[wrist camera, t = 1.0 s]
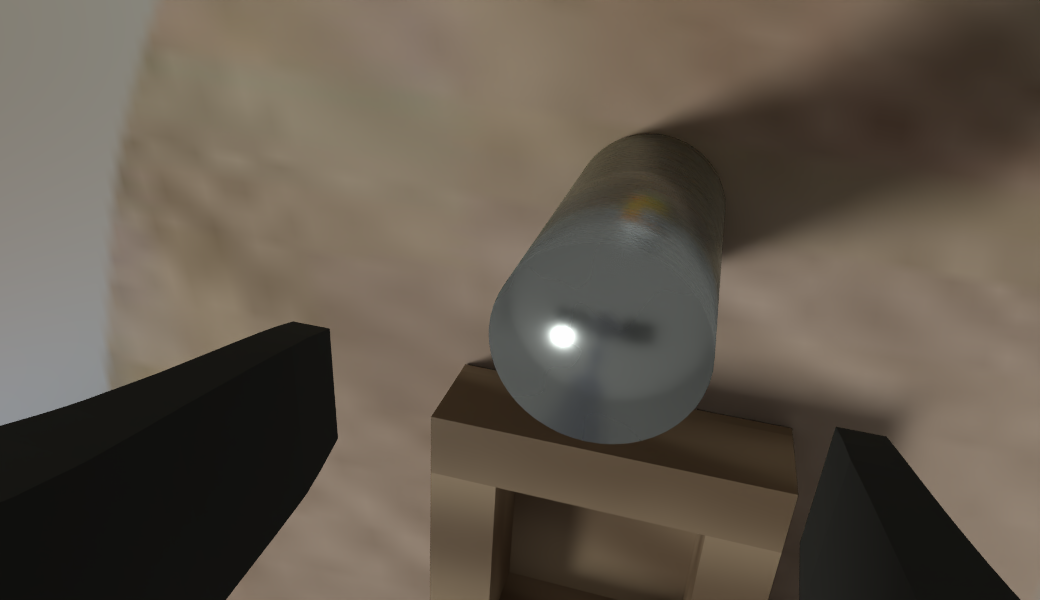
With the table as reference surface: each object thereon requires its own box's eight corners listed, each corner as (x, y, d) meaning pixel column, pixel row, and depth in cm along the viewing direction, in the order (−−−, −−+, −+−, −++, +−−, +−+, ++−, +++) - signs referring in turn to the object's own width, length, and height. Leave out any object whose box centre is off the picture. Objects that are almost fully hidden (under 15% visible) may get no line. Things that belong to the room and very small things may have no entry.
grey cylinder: (710, 287, 21) (693, 463, 14) (568, 264, 21) (484, 419, 15) (738, 144, 19) (734, 263, 12) (582, 125, 20) (493, 226, 13)
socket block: (728, 661, 26) (726, 740, 24) (458, 590, 28) (429, 656, 26) (791, 428, 22) (798, 495, 19) (465, 364, 24) (431, 416, 21)
